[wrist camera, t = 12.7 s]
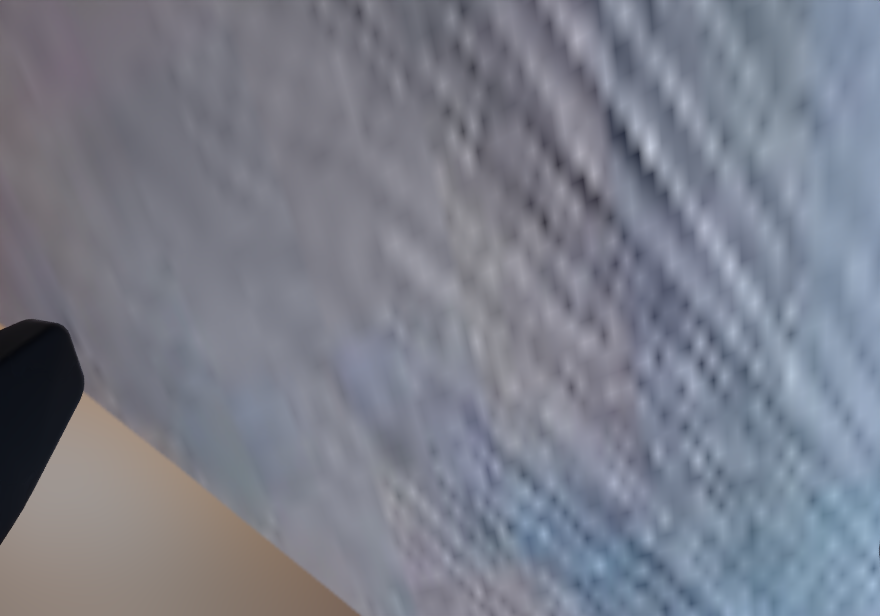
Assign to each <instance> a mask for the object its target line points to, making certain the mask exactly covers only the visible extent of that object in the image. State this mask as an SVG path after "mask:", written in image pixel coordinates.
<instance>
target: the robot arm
mask: <svg viewBox="0 0 880 616" xmlns="http://www.w3.org/2000/svg"><path fill="white" fill-rule="evenodd" d="M83 390H84V375H83V372H82V369H81V366H80V363H79V360H78V357H77V354H76V351H75V348H74V345H73V342H72V340H71V337H70V334H69V332H68V330H67V329H66V328H65V327H64V326H63V325H61V324H59V323H54V322H48V321H42V320H36V319H27V320H23V321H20V322H18V323H16V324H13V325H11V326H9V327H6V328H4V329H2V330H0V545H1V543H2V542H3V540H4V539H5V537H6V536H7V534H8V532H9V531H10V529H11V528H12V526H13V525H14V523H15V521H16V520H17V518H18V517H19V515H20V513H21V512H22V510H23V508H24V506H25V505H26V503H27V501H28V499H29V497H30V496H31V494H32V492H33V490H34V488H35V486H36V484H37V482H38V480H39V478H40V477H41V474H42V473H43V471H44V469H45V467H46V465H47V463H48V461H49V459H50V457H51V455H52V453H53V451H54V450H55V448H56V446H57V444H58V442H59V439H60V438H61V436H62V434H63V432H64V430H65V428H66V426H67V424H68V422H69V420H70V418H71V417H72V415H73V413H74V411H75V409H76V407H77V405H78V403H79V401H80V399H81V396H82V393H83ZM879 556H880V546H879Z"/></svg>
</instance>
